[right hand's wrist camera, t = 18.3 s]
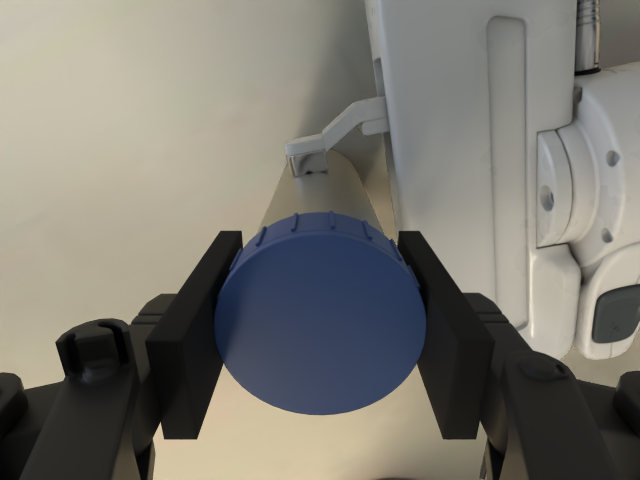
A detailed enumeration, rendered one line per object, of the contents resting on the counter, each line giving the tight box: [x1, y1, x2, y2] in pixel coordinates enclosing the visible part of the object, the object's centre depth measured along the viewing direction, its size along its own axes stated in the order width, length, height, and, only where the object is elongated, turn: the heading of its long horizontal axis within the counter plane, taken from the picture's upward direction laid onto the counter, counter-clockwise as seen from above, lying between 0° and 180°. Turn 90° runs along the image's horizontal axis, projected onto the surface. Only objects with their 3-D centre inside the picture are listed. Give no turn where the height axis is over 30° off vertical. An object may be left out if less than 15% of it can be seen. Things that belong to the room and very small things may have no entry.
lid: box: [214, 211, 427, 415], centre depth 11 cm, size 6×6×2 cm
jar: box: [256, 149, 384, 235], centre depth 18 cm, size 5×5×15 cm
